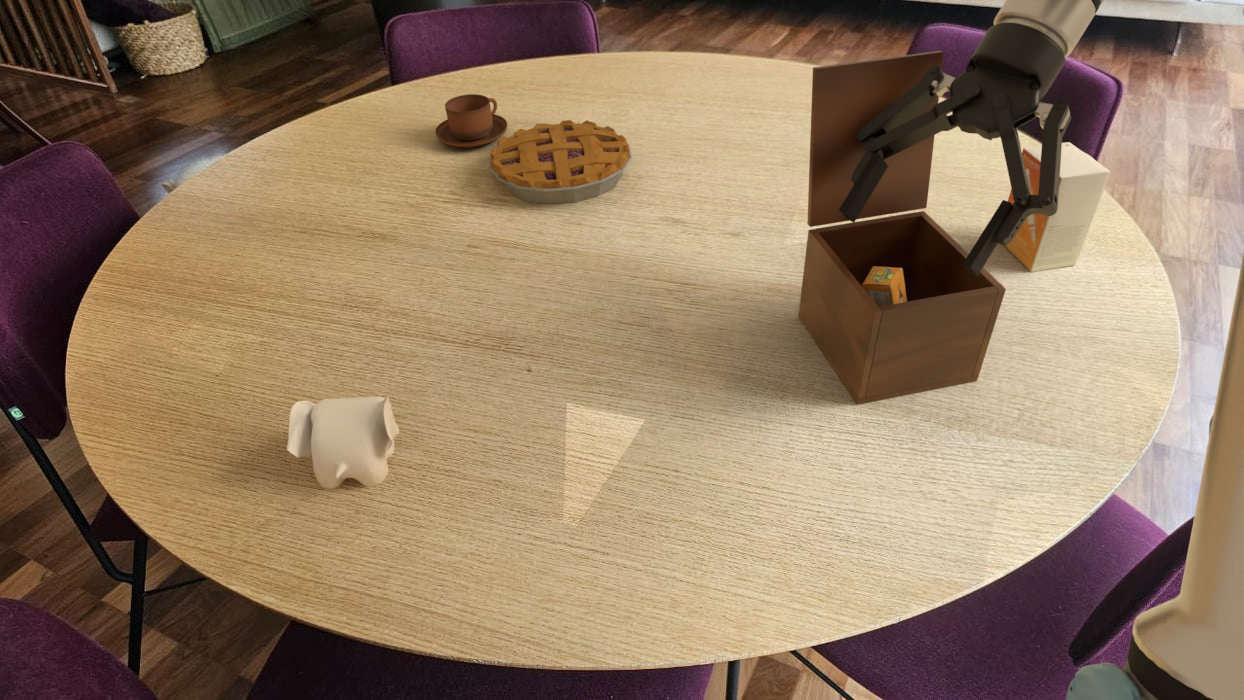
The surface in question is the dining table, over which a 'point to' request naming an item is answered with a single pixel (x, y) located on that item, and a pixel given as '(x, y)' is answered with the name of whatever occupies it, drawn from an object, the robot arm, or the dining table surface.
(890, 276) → the supplement box
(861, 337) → the chest
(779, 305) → the dining table surface
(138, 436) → the dining table surface
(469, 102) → the cup and saucer
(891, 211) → the lid
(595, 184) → the pie
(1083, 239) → the small box
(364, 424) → the elephant figurine
